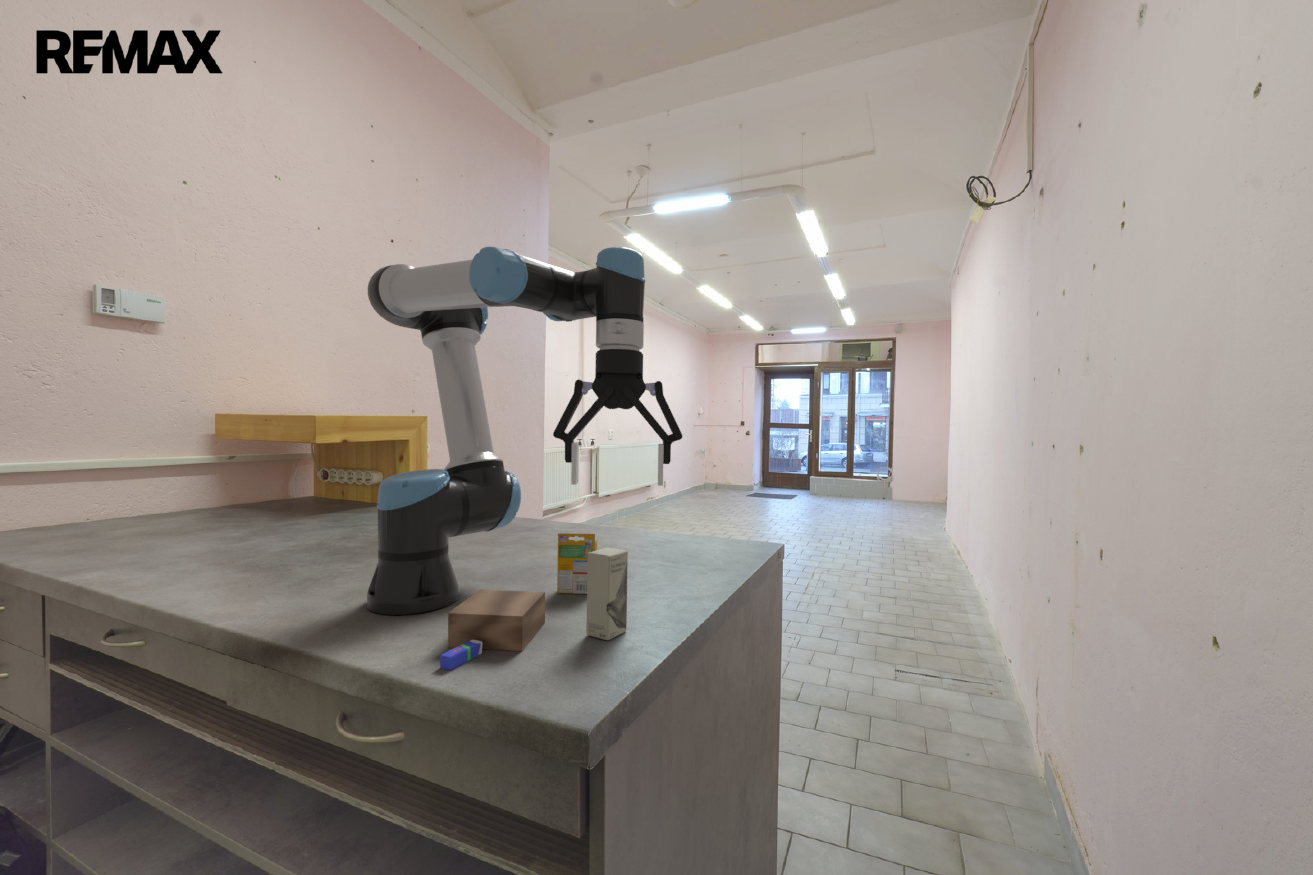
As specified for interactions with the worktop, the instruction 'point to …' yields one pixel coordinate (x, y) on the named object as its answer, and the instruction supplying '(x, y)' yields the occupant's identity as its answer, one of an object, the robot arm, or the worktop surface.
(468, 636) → the block
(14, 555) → the worktop surface
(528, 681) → the worktop surface
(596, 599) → the box
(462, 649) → the eraser
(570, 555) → the crayon box
